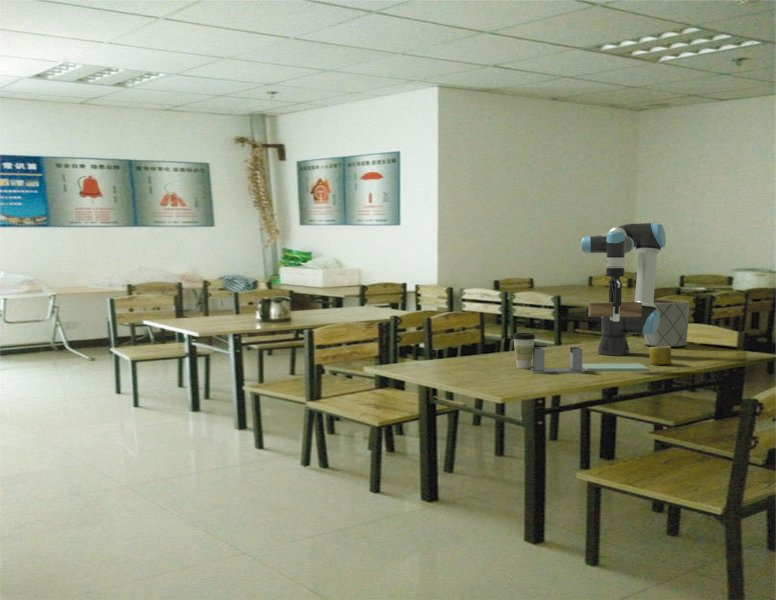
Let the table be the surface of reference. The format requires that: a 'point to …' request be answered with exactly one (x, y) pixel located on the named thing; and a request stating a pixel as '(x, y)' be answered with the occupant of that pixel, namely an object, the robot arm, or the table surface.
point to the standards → (574, 368)
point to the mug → (660, 355)
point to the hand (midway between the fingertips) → (614, 320)
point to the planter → (670, 324)
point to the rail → (607, 310)
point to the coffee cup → (523, 349)
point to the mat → (614, 367)
